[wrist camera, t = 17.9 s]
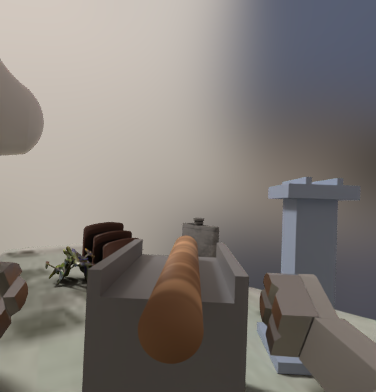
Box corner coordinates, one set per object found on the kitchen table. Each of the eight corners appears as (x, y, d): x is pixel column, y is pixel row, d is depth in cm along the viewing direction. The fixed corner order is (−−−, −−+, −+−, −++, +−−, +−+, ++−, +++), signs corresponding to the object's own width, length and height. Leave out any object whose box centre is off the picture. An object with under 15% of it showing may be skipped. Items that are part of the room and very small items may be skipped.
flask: (210, 283, 75) (213, 219, 75) (177, 272, 85) (179, 216, 86) (219, 281, 78) (221, 219, 78) (185, 270, 88) (187, 216, 88)
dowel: (178, 377, 12) (216, 322, 12) (124, 337, 12) (162, 284, 12) (188, 263, 34) (202, 244, 34) (169, 249, 34) (183, 230, 34)
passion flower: (85, 300, 73) (107, 268, 70) (45, 303, 65) (67, 267, 62) (74, 269, 80) (93, 240, 77) (36, 268, 72) (56, 235, 69)
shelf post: (367, 378, 36) (372, 178, 36) (277, 373, 36) (284, 175, 37) (323, 333, 48) (328, 184, 48) (256, 330, 48) (261, 181, 49)
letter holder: (81, 265, 90) (83, 223, 90) (120, 255, 107) (122, 220, 108) (103, 269, 85) (105, 226, 86) (140, 258, 103) (142, 222, 103)
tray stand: (240, 519, 19) (248, 276, 20) (76, 508, 19) (87, 269, 20) (219, 375, 35) (224, 242, 36) (129, 370, 35) (135, 239, 36)
